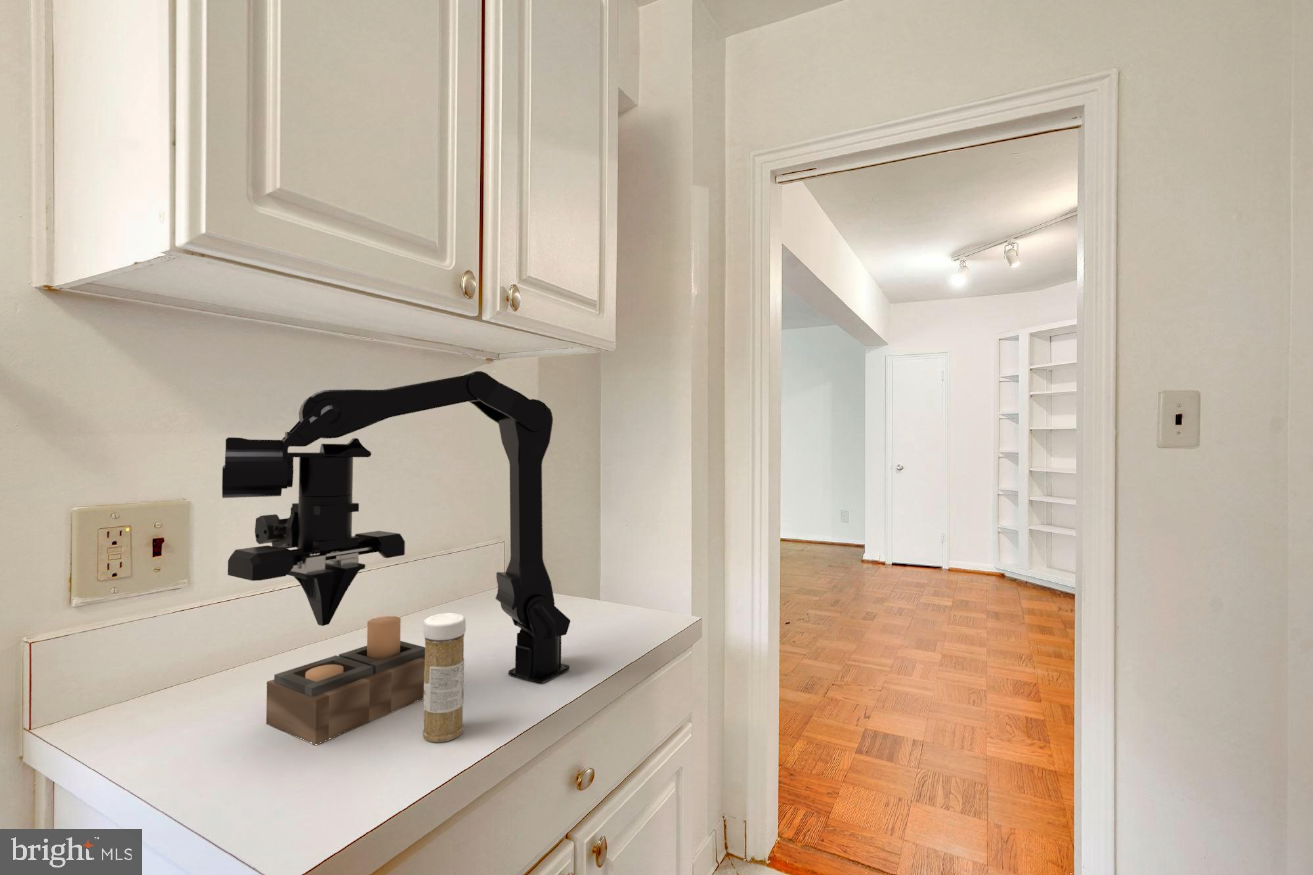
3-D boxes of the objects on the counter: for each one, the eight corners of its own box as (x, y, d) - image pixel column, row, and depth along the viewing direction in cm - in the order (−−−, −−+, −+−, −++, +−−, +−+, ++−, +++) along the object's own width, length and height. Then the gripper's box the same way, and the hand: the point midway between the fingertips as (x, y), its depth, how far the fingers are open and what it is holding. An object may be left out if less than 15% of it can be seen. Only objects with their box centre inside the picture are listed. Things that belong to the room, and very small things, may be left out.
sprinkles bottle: (428, 725, 72) (429, 612, 72) (468, 724, 72) (469, 611, 72) (417, 745, 67) (418, 623, 67) (459, 743, 67) (460, 622, 68)
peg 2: (387, 658, 82) (387, 614, 82) (406, 664, 80) (407, 619, 80) (360, 668, 79) (360, 622, 79) (379, 674, 77) (380, 626, 77)
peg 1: (330, 710, 75) (330, 662, 75) (349, 717, 73) (350, 668, 73) (297, 723, 72) (298, 672, 72) (317, 731, 70) (318, 679, 70)
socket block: (385, 678, 86) (386, 636, 86) (433, 693, 81) (434, 648, 81) (266, 723, 72) (266, 673, 72) (315, 745, 67) (316, 691, 67)
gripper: (356, 487, 85) (354, 598, 85) (204, 496, 69) (201, 634, 69) (408, 491, 79) (406, 610, 79) (256, 502, 63) (253, 652, 63)
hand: (323, 624), depth 73 cm, fingers closed
